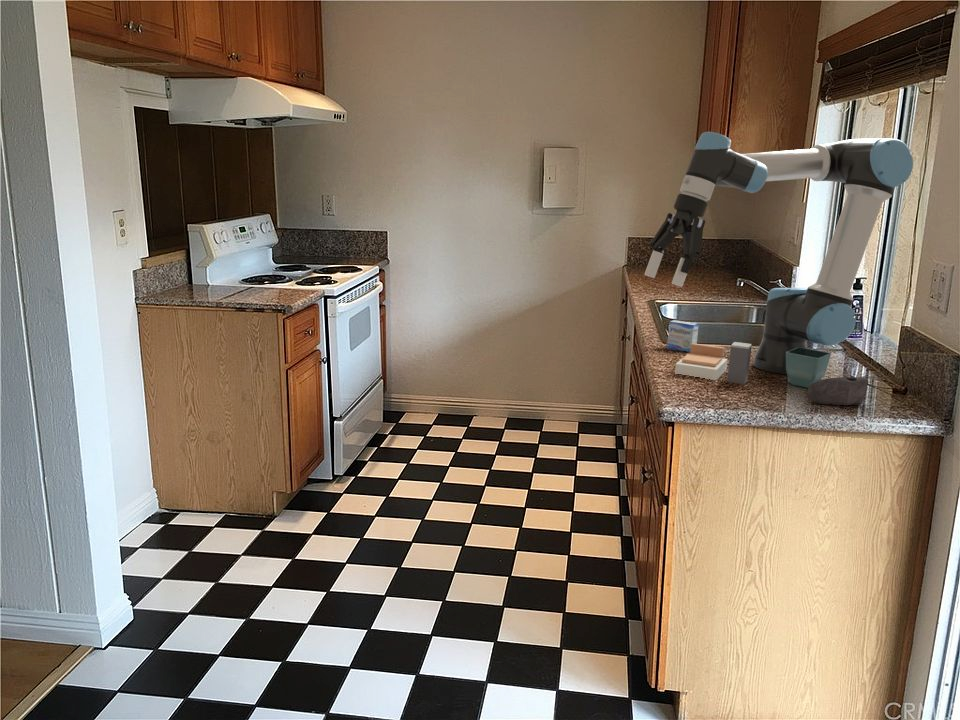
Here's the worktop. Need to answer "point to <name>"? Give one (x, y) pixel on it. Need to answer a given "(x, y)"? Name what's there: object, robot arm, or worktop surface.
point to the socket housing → (701, 369)
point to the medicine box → (682, 335)
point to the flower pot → (806, 366)
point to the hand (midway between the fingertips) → (662, 281)
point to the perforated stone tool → (839, 391)
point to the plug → (739, 362)
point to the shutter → (704, 355)
